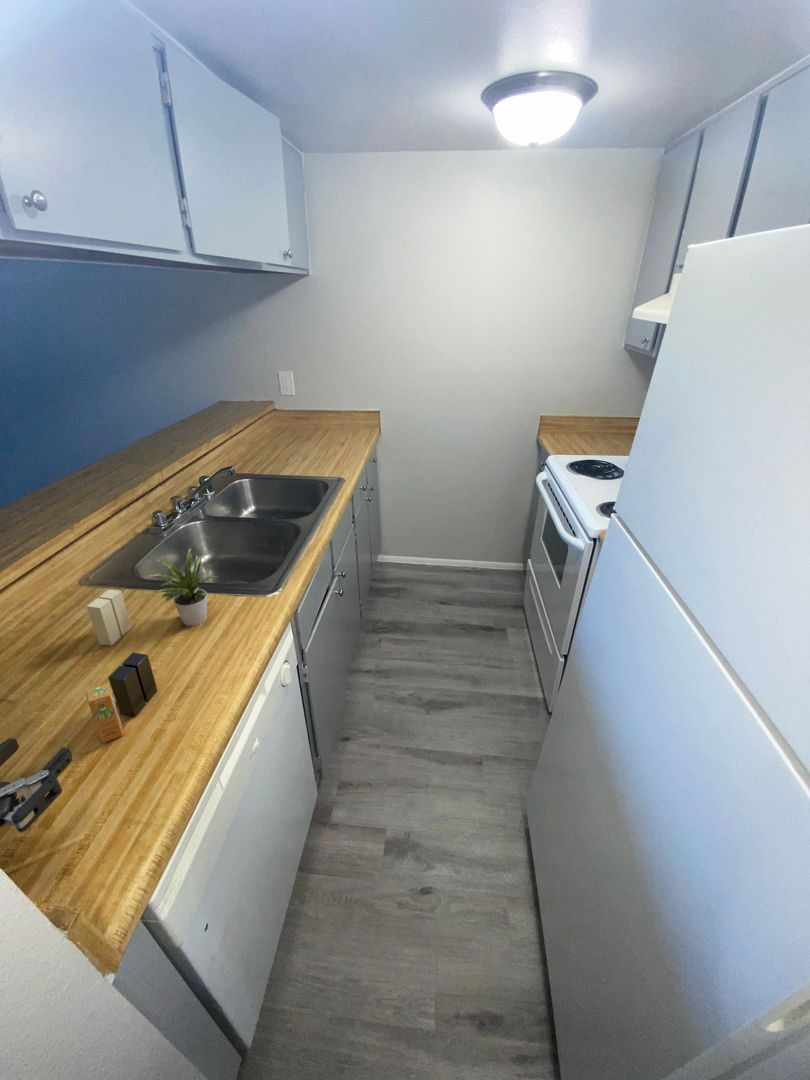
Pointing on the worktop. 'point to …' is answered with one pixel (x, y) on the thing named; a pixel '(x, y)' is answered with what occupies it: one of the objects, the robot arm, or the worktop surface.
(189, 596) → the house plant
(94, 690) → the supplement box
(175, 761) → the worktop surface
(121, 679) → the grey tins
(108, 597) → the cream boxes
